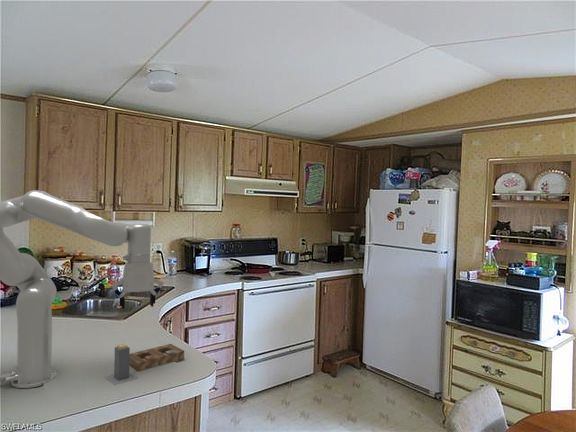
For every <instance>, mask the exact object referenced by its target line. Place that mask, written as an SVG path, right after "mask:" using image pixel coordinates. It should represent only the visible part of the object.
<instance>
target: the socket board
mask: <svg viewBox="0 0 576 432" xmlns="http://www.w3.org/2000/svg"><path fill="white" fill-rule="evenodd" d="M182 361H185V350H184V349H181V348H180V347H178V346H176V345H174V344H173V343H168V344H164V345H161V346H160V345H159V346H156V347H152V348H148V349H145V350H144V349H143V350H140V351H135V352H132V353H131V352H130V357H129V367H131V368H132V369H134V370H135V371H136V372H141V371H142V372H143V371H146V370H148V369H152V368H155V367H158V366H163V365H167V364H170V363H174V362H175V363H178V362H182Z"/></svg>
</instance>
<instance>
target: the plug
mask: <svg viewBox="0 0 576 432" xmlns="http://www.w3.org/2000/svg"><path fill="white" fill-rule="evenodd" d="M130 354H131V350H130V347H129V346H128V345H127V344H126V343H121V344H117V345H116V346H115V347H114V361H113V363H114V364H113V365H114V368H113V369H114V370H113V372H114V373H113V374H114V377H115V378H116V379H117V380H118V381H119V380H123V379H126V378H129V371H130V366H129V357H130Z"/></svg>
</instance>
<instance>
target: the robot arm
mask: <svg viewBox="0 0 576 432" xmlns="http://www.w3.org/2000/svg"><path fill="white" fill-rule="evenodd" d="M35 219H38V220H41V221H44V222H47V223H48V224H53V225H55V226H57V227H60V228H63V229H65V230H67V231H69V232H72V233H74V234H78V235H80V236H83V237H86V238H88V239H90V240H93V241H96V242H98V243H101V244H104V245H107V246H111V247H119V246H122V245H123V244H125V243H127V253H126V255H122V260H123V261H126V262H124V263H125V264H124V267H123V274H122V278H121V279H120V280H118V281H116V282H114V283H112V284H111V285H110V286H111V289H112V290H113V292H114V294H115V295H117V296H118V297H119V307H121V309H122V310H124V309H125V302H126V301H125V299H126V297H125V295H126V294H127V293H142V292H150V293H151V294H149V295H150V296H149V298H150V299H149V305H150V307H152V308H153V307H154V304H156V295H157V294H158V293H159V292H160V291H161V289H162V287H163V286H164V282H163V281H162V280H159V279H157V278H155V273H154V266H153V265H154V264H153V262H152V261H151V241H152V240H151V239H152V236H151V235H152V227H151V225H149V224H147V223H132V224H129V223H124V222H123V223H122V222H114V221H110V220H108V219H106V218H102V217H100V216H97V215H96V214H93V213H91V212H90V211H88V210H86V209H85V208H84V207H82V206H80V205H79V204H74V203H72V202H70V201H67V200H64V199H63V198H59V197H56V196H54V195H52V194H50V193H49V192H47V191H43V190H37V189H35V190H34V189H33V190H30V191H27V192H26V193H25V194H23V195H20V196H18V197H13V198H10V199H6V200H3V201H0V281H1V282H2V283H3V284H5V285H6V286H10V287H17V288H18V289H19V291H20V292H18V295H17V298H16V301H15V307H16V308H15V311H16V319H17V321H16V322H17V324H16V325H17V326H16V327H17V330H16V331H17V339H16V340H17V345H16V346H17V352H16V353H17V354H16V363H17V364H16V367H14V370H11V371H10V372H8V373H1V374H0V382H2V381H5V383H8V382H10V385H11V386H12V387H13V388H17V389H31V388H36V387H40V386H43V385H44V384H46V383H48V382H50V381H52V380H54V379H55V378H56V377H57V375H58V374H57V371H56V370H55V369H52V366H53V365H52V363H53V361H52V358H53V357H52V355H53V353H52V351H53V315H52V313H53V312H52V305H53V304H52V303H53V302H54V300H55V298H56V297H57V286H56V285H55V283H54V281H53V280H52V279H51V278H50V276H49V275H48V273H47V272H46V270H45V269H44V268H43V267H42V265H41V264H40V263H39V261H38V260H37V259H36V258H35V257H34V256H33V255H31V254H30V253H26V252H20V250H18V248H17V247H16V246H15V245H14V243H13V241H12V240H11V239H10V238H9V237H8V236H7V235H6V234H5V231H4V228H9V227H11V226H14V225H18V224H20V223H23V222H28V221H30V220H35ZM155 283H156V284H157V286H156V287H155ZM120 285H122V286H121V287H122V290H121V291H120V290H119V289H118V286H120ZM154 287H155V288H154Z"/></svg>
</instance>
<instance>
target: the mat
mask: <svg viewBox="0 0 576 432" xmlns="http://www.w3.org/2000/svg"><path fill="white" fill-rule="evenodd" d="M104 378H105V379H106V380H107V381H109V383H111V384H112V385H113V386H116V385H117V386H118V385H120V384H123V383H126V382H130V381H133V380H136V379H139V377H138V376H136V374H134V373H133V372H131V371H130V370H129V378H126V379H123V380H119V381H118V380H117V379H116V378H115V377H114V373H113V374H109V375H106V376H104Z"/></svg>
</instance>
